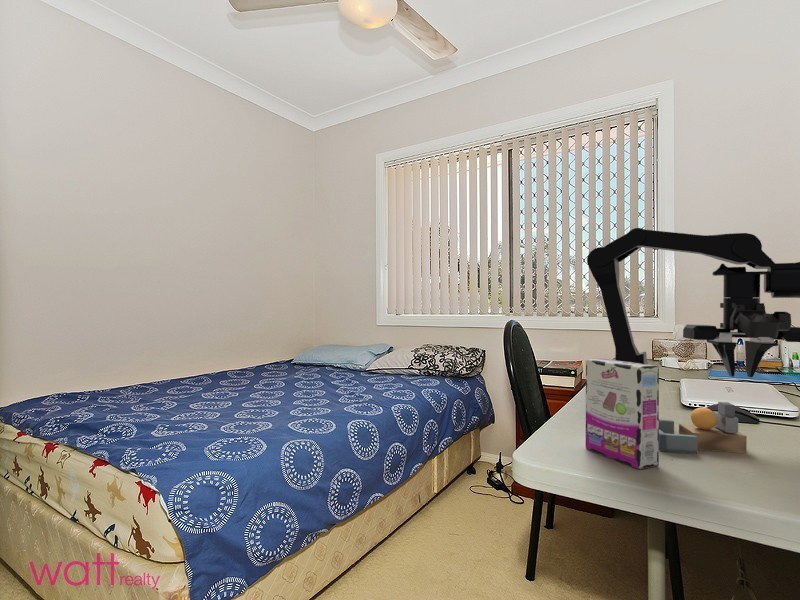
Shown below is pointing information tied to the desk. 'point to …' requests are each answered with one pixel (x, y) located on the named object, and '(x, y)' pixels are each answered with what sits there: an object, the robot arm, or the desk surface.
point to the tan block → (716, 439)
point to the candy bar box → (623, 411)
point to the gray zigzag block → (726, 417)
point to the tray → (675, 439)
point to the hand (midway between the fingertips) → (740, 376)
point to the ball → (703, 418)
